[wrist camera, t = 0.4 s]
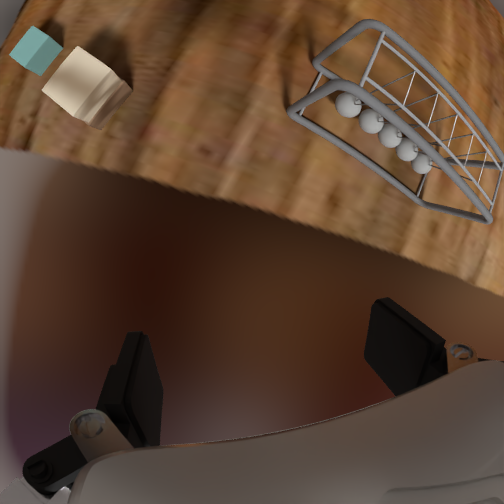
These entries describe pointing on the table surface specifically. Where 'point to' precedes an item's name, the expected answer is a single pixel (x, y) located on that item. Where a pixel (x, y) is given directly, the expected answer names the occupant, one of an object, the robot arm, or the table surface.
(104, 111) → the tower base
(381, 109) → the newton's cradle
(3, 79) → the table surface
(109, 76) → the tower mid
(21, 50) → the teal block
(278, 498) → the robot arm
